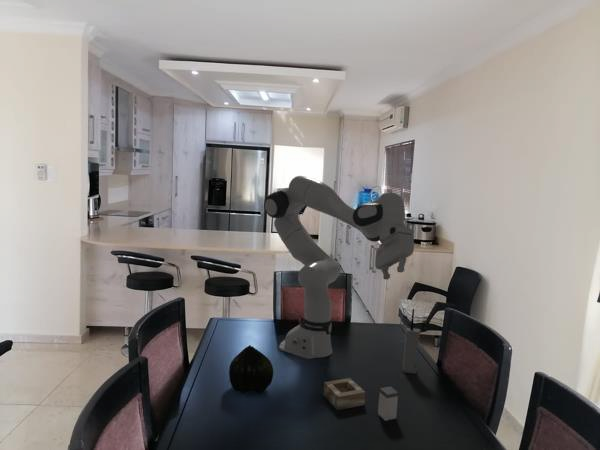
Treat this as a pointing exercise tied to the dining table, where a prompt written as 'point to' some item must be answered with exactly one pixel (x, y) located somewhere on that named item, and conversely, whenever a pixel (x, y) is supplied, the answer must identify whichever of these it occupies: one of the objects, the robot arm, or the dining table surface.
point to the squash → (250, 371)
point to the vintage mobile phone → (410, 348)
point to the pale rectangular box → (388, 403)
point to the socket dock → (344, 393)
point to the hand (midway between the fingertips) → (393, 275)
